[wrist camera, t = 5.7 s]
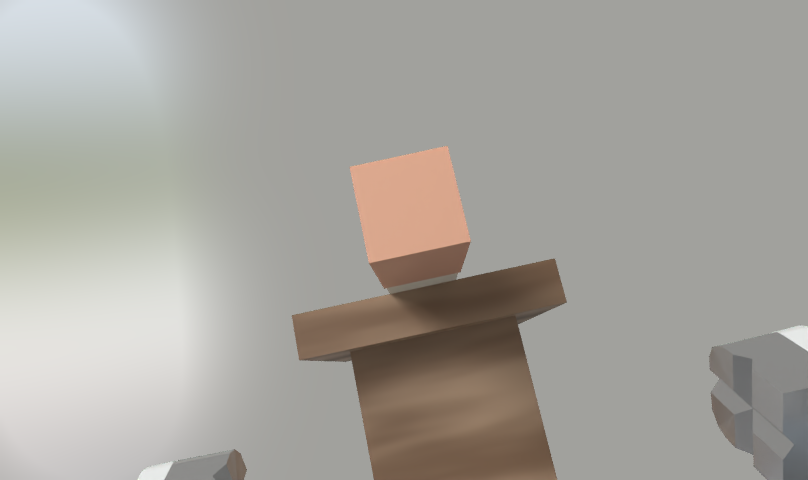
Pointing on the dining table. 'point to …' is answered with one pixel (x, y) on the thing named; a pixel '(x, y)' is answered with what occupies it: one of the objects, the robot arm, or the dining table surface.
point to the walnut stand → (444, 374)
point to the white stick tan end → (412, 219)
